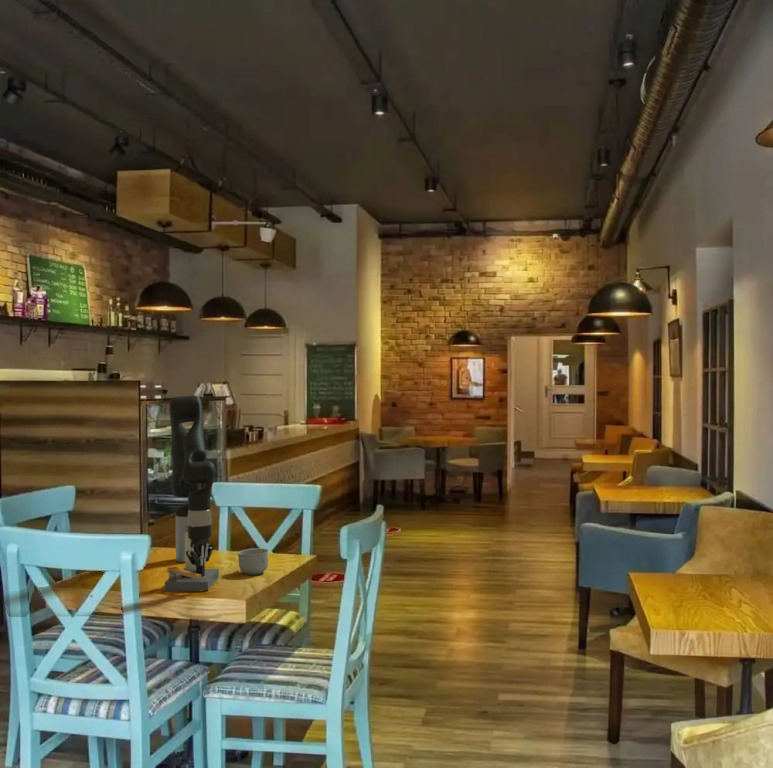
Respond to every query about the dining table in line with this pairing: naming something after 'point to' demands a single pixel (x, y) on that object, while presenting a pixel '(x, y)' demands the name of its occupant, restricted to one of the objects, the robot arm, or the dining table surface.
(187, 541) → the grey tall cylinder
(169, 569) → the clip
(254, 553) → the teacup
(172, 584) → the grey flat block
